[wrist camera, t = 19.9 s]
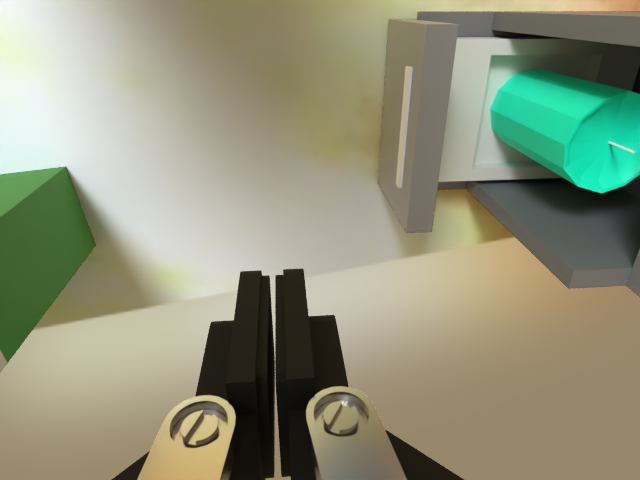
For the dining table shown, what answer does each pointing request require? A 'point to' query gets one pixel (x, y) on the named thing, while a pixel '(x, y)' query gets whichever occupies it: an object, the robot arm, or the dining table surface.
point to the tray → (467, 106)
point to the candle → (571, 127)
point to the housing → (558, 193)
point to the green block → (36, 249)
